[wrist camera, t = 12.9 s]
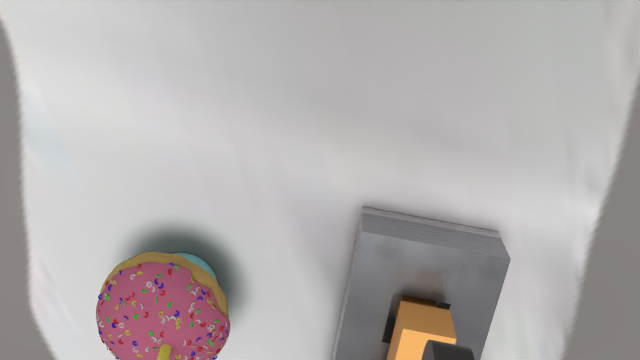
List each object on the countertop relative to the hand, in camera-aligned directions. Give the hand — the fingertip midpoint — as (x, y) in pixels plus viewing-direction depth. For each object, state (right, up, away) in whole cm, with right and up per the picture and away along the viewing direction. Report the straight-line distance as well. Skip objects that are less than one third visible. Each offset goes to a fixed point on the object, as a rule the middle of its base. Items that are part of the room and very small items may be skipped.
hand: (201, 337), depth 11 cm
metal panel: (+8, -8, +32) cm, 34 cm away
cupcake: (-8, -4, +32) cm, 33 cm away
